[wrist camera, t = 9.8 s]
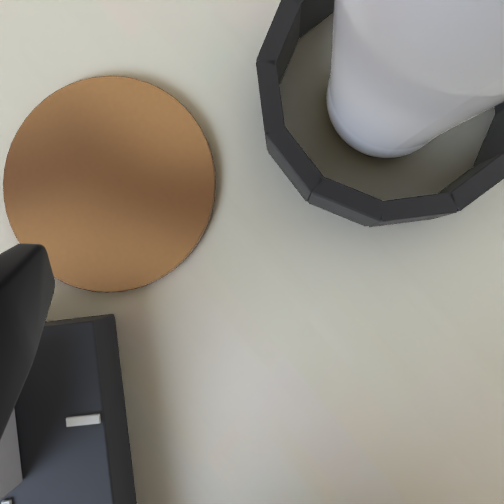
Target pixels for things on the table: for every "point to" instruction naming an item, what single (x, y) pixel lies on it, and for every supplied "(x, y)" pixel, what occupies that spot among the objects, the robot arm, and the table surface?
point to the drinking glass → (412, 70)
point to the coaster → (110, 183)
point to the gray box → (9, 458)
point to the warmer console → (74, 419)
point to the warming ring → (333, 193)
